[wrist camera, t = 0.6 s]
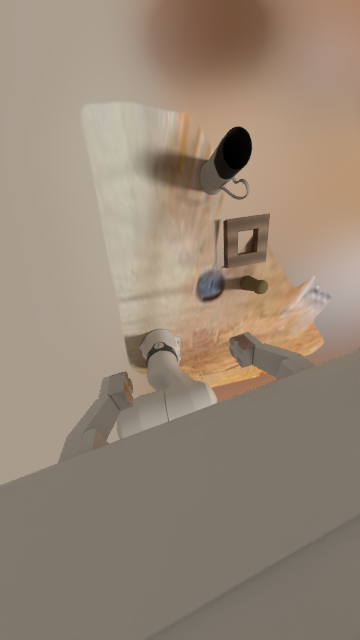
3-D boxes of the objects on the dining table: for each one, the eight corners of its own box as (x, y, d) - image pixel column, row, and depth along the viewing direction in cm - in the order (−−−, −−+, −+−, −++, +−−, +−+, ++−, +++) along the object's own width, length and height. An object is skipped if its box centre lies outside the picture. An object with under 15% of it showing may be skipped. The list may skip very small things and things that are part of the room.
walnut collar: (260, 261, 63) (265, 261, 61) (224, 267, 61) (227, 268, 59) (264, 215, 56) (269, 213, 54) (223, 221, 55) (227, 219, 52)
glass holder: (216, 152, 47) (244, 111, 33) (237, 199, 53) (267, 180, 39) (194, 173, 48) (212, 141, 34) (217, 216, 54) (240, 204, 40)
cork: (251, 289, 68) (269, 295, 58) (239, 290, 67) (254, 296, 57) (254, 275, 65) (272, 279, 55) (241, 275, 64) (258, 280, 54)
